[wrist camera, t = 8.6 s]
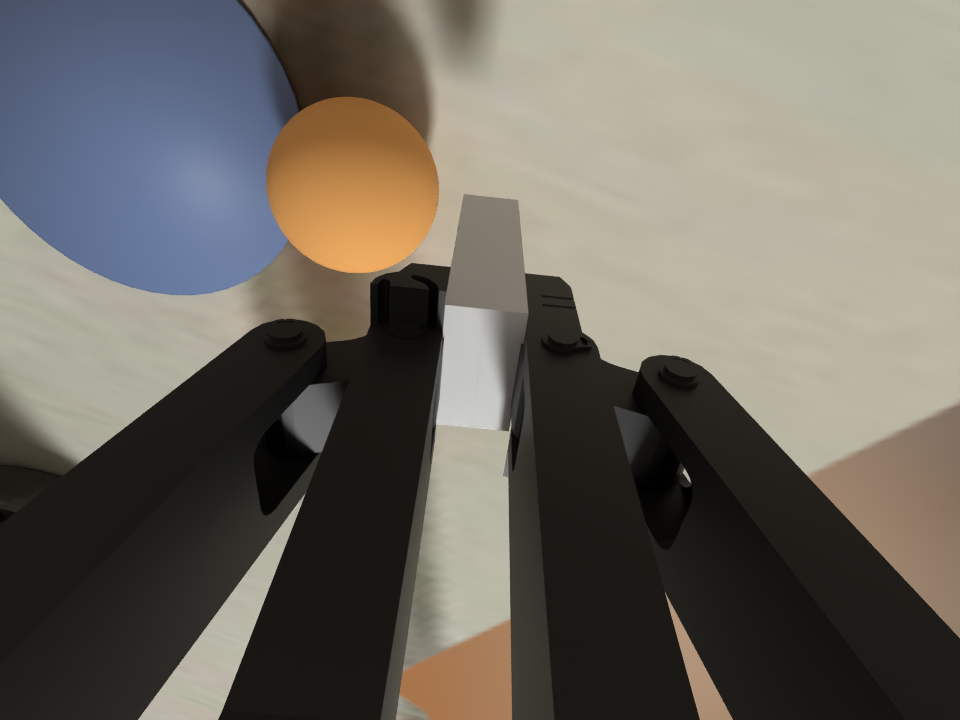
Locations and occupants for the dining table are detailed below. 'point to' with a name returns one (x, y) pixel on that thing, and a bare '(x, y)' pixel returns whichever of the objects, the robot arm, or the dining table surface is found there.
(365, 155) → the ball
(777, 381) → the dining table surface
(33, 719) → the robot arm
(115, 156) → the disc
